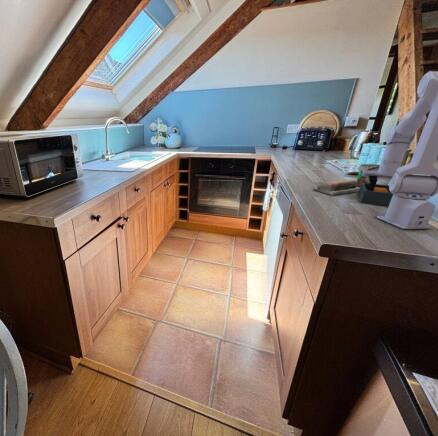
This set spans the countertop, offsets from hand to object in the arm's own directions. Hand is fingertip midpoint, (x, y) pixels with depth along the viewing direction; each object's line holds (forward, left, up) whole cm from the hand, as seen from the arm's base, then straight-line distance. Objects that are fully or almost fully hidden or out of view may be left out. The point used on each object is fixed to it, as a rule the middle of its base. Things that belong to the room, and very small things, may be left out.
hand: (379, 195), depth 98 cm
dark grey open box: (0, 0, -2) cm, 2 cm away
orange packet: (0, 0, -2) cm, 2 cm away
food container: (+22, -11, -2) cm, 25 cm away
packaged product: (+14, +7, -2) cm, 16 cm away
